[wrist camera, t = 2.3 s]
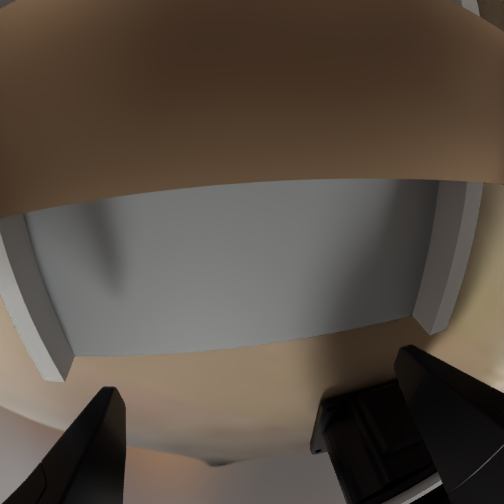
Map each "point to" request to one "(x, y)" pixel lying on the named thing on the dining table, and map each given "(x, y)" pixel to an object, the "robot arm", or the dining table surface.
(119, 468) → the robot arm
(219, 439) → the dining table surface
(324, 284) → the rail plate
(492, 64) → the walnut slider
